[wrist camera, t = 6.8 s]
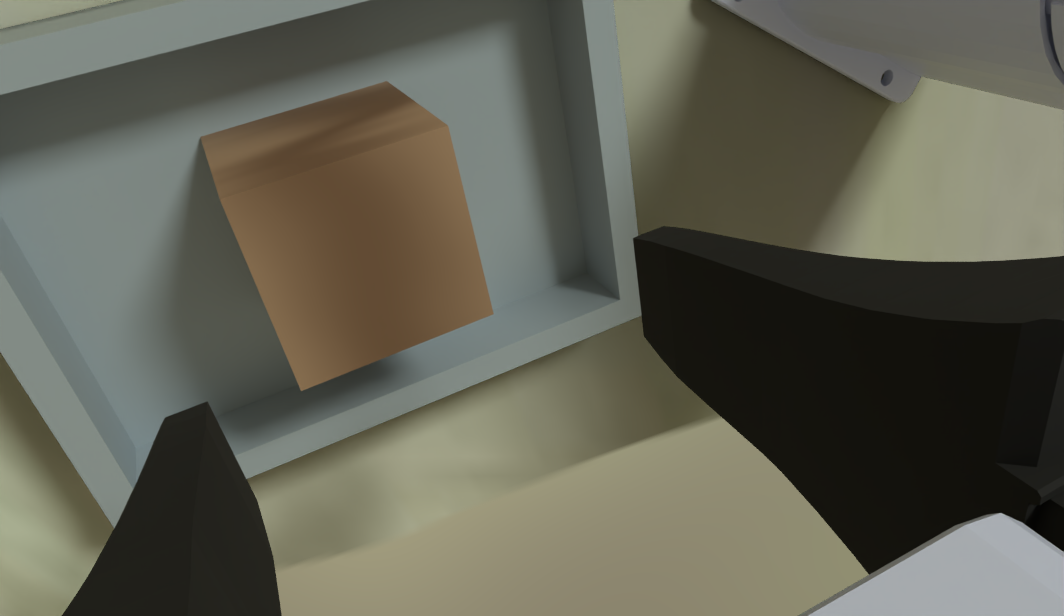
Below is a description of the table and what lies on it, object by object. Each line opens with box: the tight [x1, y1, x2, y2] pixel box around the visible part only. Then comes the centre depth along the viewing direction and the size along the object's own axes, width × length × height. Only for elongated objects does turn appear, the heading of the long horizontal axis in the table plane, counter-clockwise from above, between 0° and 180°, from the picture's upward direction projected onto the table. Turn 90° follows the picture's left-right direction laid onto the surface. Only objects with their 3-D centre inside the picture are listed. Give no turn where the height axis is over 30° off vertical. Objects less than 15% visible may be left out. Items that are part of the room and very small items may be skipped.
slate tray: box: [0, 0, 642, 528], centre depth 19 cm, size 15×11×2 cm
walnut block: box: [200, 81, 494, 391], centre depth 18 cm, size 4×4×4 cm
